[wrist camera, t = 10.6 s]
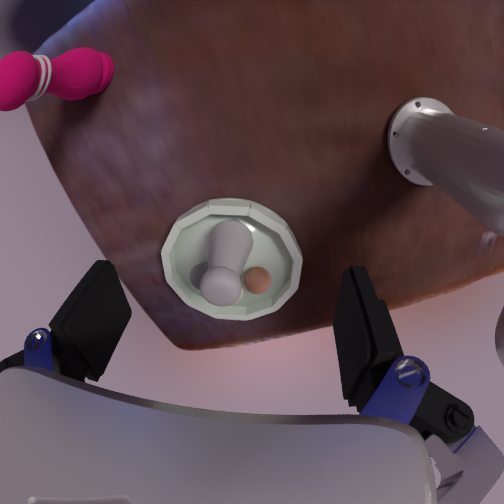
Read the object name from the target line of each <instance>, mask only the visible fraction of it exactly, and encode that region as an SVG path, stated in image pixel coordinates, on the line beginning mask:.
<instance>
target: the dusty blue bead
mask: <svg viewBox="0 0 504 504" xmlns="http://www.w3.org/2000/svg"><path fill="white" fill-rule="evenodd" d="M207 270H208V264H206V263H200V264H197V265H196V266H194V267H193V268H192V270H191V272H190V282H191V284H192V285H193V286H194V287H195V288H196V289H198V290H200V283H201V279H202V276H203V275H204V274H205V273H206V272H207Z"/></svg>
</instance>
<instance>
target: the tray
mask: <svg viewBox="0 0 504 504" xmlns="http://www.w3.org/2000/svg"><path fill="white" fill-rule="evenodd" d="M233 219H237V220H239V221H240V222H241V223H243V224H245V225H246V226H247V227H248V228H249V229H250V231H251V232H252V236H253V241H254V243H253V247H252V250H251V253H250V255H249V257H248V259H247V261H246V264H245V266H244V268H243V270H242V272H241V274H240V280H241V283H242V285H243V288H244V293H243V296H242V298H241V299H240V300H239V301H238V302H236V303H234V304H232V305H229V306H225V307H222V306H215V305H212V304H210V303H208V302H207V301H206V300H205V299H204V298H203V297H202V295H201V293H200V290H198V289H196V288H195V287H194V286H193V285H192V284H191V282H190V272H191V270H192V268H193V267H194V266H196V265H197V264H200V263H206V264H208V256H209V238H210V233H211V231H212V229H213V228H214V227H215V226H216V225H217V224H218V223H220V222H222V221H225V220H233ZM161 256H162V262H163V267H164V273H165V278H166V280H167V283H168V284H169V285H170V286H171V287H172V289H173V290H174V291H175V292H176V293H177V294H178V296H179V297H180V298H181V299H182V300H183V301H184V303H185V304H187V305H188V306H190V307H192V308H195V309H197V310H199V311H201V312H203V313H205V314H207V315H209V316H211V317H214V318H215V317H216V318H218V319H231V320H247V319H248V320H251V319H254V318H257V317H260V316H263V315H266V314H269V313H272V312H275V311H276V310H278V309H279V308H280V307H281V306H282V305H283V304H284V303H285V302H286V301H287V300H288V299H289V298H290V297H291V296H292V295H293V294H294V293H295V292H296V291H297V289H298V286H299V280H300V274H301V268H302V262H303V259H302V253H301V250H300V248H299V246H298V244H297V241H296V238H295V236H294V234H293V232H292V230H291V229H290V227H289V226H288V224H287V222H285V220H283V219H282V218H281V217H280V216H279V215H278V214H277V213H275V212H274V211H273V210H271V209H270V208H268V207H266V206H264V205H262V204H260V203H257V202H255V201H252V200H248V199H243V198H235V197H222V198H215V199H211V200H207V201H204V202H202V203H200V204H197V205H195V206H194V207H192V208H191V209H189V210H188V211H187V212H186V213H184V214H183V215H181V216H179V217H178V219H177V220H176V222H175V224H174V225H173V227H172V229H171V231H170V233H169V235H168V238H167V240H166V242H165V244H164V246H163V248H162V250H161ZM252 267H263V268H265V269H266V270H267V271H268V272H269V273H270V275H271V285H270V287H269V289H268V290H267V291H266V292H264V293H262V294H253V293H251V292H249V291H248V290H247V289H246V287H245V285H244V276H245V273H246V272H247V271H248V270H249V269H250V268H252Z"/></svg>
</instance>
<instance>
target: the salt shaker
mask: <svg viewBox="0 0 504 504" xmlns="http://www.w3.org/2000/svg"><path fill="white" fill-rule="evenodd" d="M253 243H254V241H253V236H252V232H251V231H250V229H249V228H248V227H247V226H246V225H245V224H243V223H241V222H240V221H239V220H237V219H233V220H225V221H222V222H220V223H218V224H217V225H216V226H215V227H214V228H213V229H212V231H211V233H210V238H209V256H208V270H207V272H206V273H205V274H204V275H203V276H202V279H201V283H200V293H201V295H202V297H203V298H204V299H205V300H206V301H207V302H208V303H210V304H212V305H215V306H222V307H225V306H229V305H232V304H234V303H235V302H236V301H237V300H238V299H239V297H240V293H241V290H242V284H241V280H240V274H241V272H242V270H243V268H244V266H245V264H246V261H247V259H248V257H249V255H250V253H251V250H252V247H253Z"/></svg>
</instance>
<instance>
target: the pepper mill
mask: <svg viewBox="0 0 504 504" xmlns="http://www.w3.org/2000/svg"><path fill="white" fill-rule="evenodd" d="M113 73H114V63H113V60H112V59H111V57H110V56H109V55H108V54H106V53H102V52H97V51H96V50H94V49H92V48H88V47H82V48H76V49H73V50H70V51H68V52H66V53H64V54H62V55H61V56H59V57H57V58H55V59H48V57H46V56H44V55H31V54H30V53H28V52H23V51H19V52H14V53H11V54H9V55H7V56H5V57H4V58H3V59H1V61H0V111H11V110H14V109H17V108H19V107H20V106H21V105H23V104H24V103H25V102H26V101H31V100H35V99H38V98H39V97H41V96H42V95H43V93H52V94H54V95H56V96H57V97H59V98H62V99H65V100H80V99H83V98H85V97H87V96H88V95H90V94H96V93H99V92H101V91H103V90H104V89H105V88H106V87H107V86H108V85H109V83H110V82H111V80H112V77H113Z"/></svg>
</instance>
